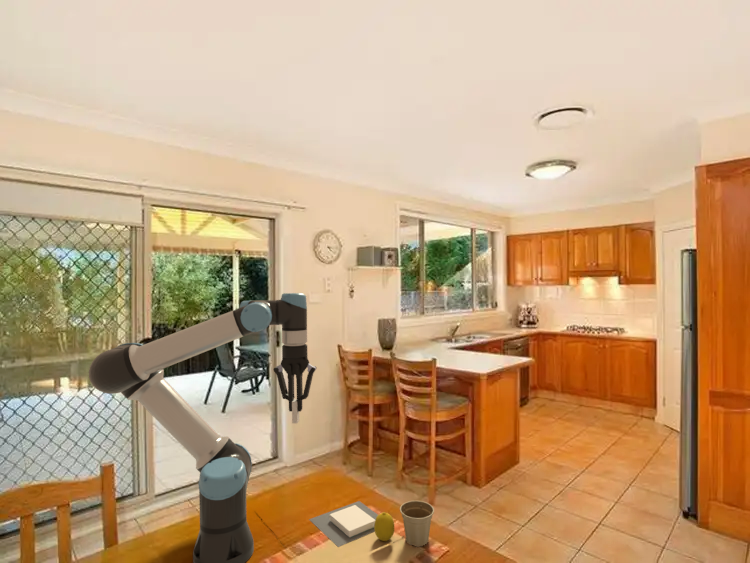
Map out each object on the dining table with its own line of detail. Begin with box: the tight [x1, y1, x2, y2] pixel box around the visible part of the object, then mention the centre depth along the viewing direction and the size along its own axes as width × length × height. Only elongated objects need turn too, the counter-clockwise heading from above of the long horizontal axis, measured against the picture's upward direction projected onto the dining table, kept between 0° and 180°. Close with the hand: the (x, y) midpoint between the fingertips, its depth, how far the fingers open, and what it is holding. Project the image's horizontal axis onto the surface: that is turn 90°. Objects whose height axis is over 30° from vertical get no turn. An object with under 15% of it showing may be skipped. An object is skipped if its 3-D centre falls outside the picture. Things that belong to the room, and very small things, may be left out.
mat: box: [308, 500, 379, 548], centre depth 129 cm, size 18×17×1 cm
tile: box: [330, 505, 375, 538], centre depth 127 cm, size 9×2×11 cm
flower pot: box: [399, 500, 435, 547], centre depth 120 cm, size 9×9×9 cm
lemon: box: [374, 511, 395, 542], centre depth 120 cm, size 6×6×8 cm
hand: (295, 421), depth 132 cm, fingers closed
